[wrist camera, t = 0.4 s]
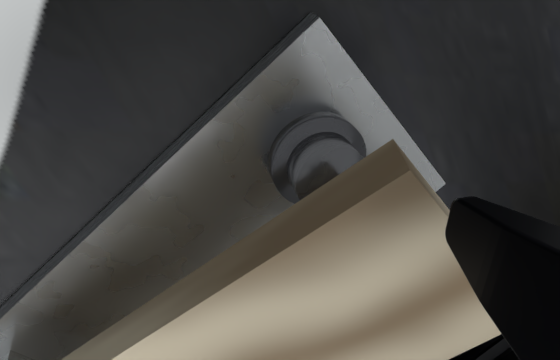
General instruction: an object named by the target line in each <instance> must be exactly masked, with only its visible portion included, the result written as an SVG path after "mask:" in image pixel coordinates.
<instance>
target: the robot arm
mask: <svg viewBox="0 0 560 360" xmlns="http://www.w3.org/2000/svg"><path fill="white" fill-rule="evenodd" d="M445 237H446V241H447V243H448V245H449V247H450V249H451V251H452V253H453V254H454V256H455V258H456V260H457V262H458V264H459V265H460V267H461V269H462V271H463V273H464V275H465V276H466V278H467V280H468V282H469V284H470V285H471V287H472V289H473V291H474V293H475V294H476V296H477V298H478V300H479V301H480V303H481V304H482V306H483V307H484V309H485V311H486V312H487V313H488V315H489V316H490V318H491V319H492V321H493V322H494V324H495V325H496V327H497V328H498V329H499V331H500V332H501V335H499V336H496V337H494V338H492V339H490V340H488V341H486V342H484V343H482V344H480V345H478V346H476V347H474V348H472V349H469V350H467V351H465V352H463V353H461V354H459V355H457V356H455V357H453V358H451V359H449V360H560V227H559V226H556V225H553V224H551V223H548V222H545V221H542V220H539V219H536V218H534V217H531V216H528V215H525V214H522V213H519V212H517V211H514V210H511V209H508V208H505V207H502V206H500V205H497V204H494V203H491V202H488V201H485V200H483V199H480V198H477V197H464V198H457V199H455V200H454V201H453V203H452V205H451V208H450V213H449V217H448V221H447V225H446V230H445Z"/></svg>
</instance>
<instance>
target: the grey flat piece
mask: <svg viewBox="0 0 560 360" xmlns="http://www.w3.org/2000/svg"><path fill="white" fill-rule="evenodd" d="M392 139H394V141H395V142H396V143H397V145H398V146H399V147H400V148H401V150H402V151H403V152H404V153H405V155H406V156H407V157H408V158H409V160H410V161H411V162H412V163H413V165H414V166H415V167H416V168H417V170H418V171H419V172H420V173H421V175H422V176H423V177H424V179H425V180H426V181H427V182H428V184H429V185H430V186H431V187H432V189H433V190H434V191H435V192H436V191H438V190H439V189H440V188H441V187H442V186H444V185H445V184H446V183H445V182H444V181H443V179H442V178H441V177H440V175H439V174H438V173H437V171H436V170H435V169H434V167H433V166H432V165H431V163H430V162H429V161H428V159H427V158H426V157H425V156H424V154H423V153H422V152H421V150H420V149H419V148H418V146H417V145H416V144H415V142H414V141H413V140H412V138H411V137H410V136H409V134H408V133H407V132H406V130H405V129H404V128H403V127H402V125H401V124H400V123H399V121H398V120H397V119H396V117H395V116H394V115H393V113H392V112H391V111H390V109H389V108H388V107H387V105H386V104H385V103H384V101H383V100H382V99H381V98H380V96H379V95H378V94H377V92H376V91H375V90H374V88H373V87H372V86H371V84H370V83H369V82H368V80H367V79H366V78H365V76H364V75H363V74H362V72H361V71H360V70H359V69H358V67H357V66H356V65H355V63H354V62H353V61H352V59H351V58H350V57H349V55H348V54H347V53H346V51H345V50H344V49H343V47H342V46H341V45H340V43H339V42H338V41H337V40H336V38H335V37H334V36H333V34H332V33H331V32H330V30H329V29H328V28H327V26H326V25H325V24H324V22H323V21H322V20H321V18H320V17H318V16H317V15H315V14H314V13H312V12H311V13H310V14H309V15H307V16H306V17H305V18H304V19H303V20H302V21H301V22H300V23H299V24H298V25H297V26H296V27H295V28H294V29H293V30H292V31H291V32H290V33H289V34H287V35H286V36H285V37H284V38H283V39H282V40H281V41H280V42H279V43H278V44H277V45H276V46H275V47H274V48H273V49H272V50H271V51H270V52H269V53H267V54H266V55H265V56H264V57H263V58H262V59H261V60H260V61H259V62H258V63H257V64H256V65H255V66H254V67H253V68H252V69H251V70H250V71H248V72H247V73H246V74H245V75H244V76H243V77H242V78H241V79H240V80H239V81H238V82H237V83H236V84H235V85H234V86H233V87H232V88H231V89H230V90H228V91H227V92H226V93H225V94H224V95H223V96H222V97H221V98H220V99H219V100H218V101H217V102H216V103H215V104H214V105H213V106H212V107H211V108H210V109H208V110H207V111H206V112H205V113H204V114H203V115H202V116H201V117H200V118H199V119H198V120H197V121H196V122H195V123H194V124H193V125H192V126H191V127H190V128H188V129H187V130H186V131H185V132H184V133H183V134H182V135H181V136H180V137H179V138H178V139H177V140H176V141H175V142H174V143H173V144H172V145H171V146H169V147H168V148H167V149H166V150H165V151H164V152H163V153H162V154H161V155H160V156H159V157H158V158H157V159H156V160H155V161H154V162H153V163H152V164H151V165H149V166H148V167H147V168H146V169H145V170H144V171H143V172H142V173H141V174H140V175H139V176H138V177H137V178H136V179H135V180H134V181H133V182H132V183H131V184H129V185H128V186H127V187H126V188H125V189H124V190H123V191H122V192H121V193H120V194H119V195H118V196H117V197H116V198H115V199H114V200H113V201H112V202H110V203H109V204H108V205H107V206H106V207H105V208H104V209H103V210H102V211H101V212H100V213H99V214H98V215H97V216H96V217H95V218H94V219H93V220H92V221H90V222H89V223H88V224H87V225H86V226H85V227H84V228H83V229H82V230H81V231H80V232H79V233H78V234H77V235H76V236H75V237H74V238H73V239H72V240H70V241H69V242H68V243H67V244H66V245H65V246H64V247H63V248H62V249H61V250H60V251H59V252H58V253H57V254H56V255H55V256H54V257H53V258H52V259H50V260H49V261H48V262H47V263H46V264H45V265H44V266H43V267H42V268H41V269H40V270H39V271H38V272H37V273H36V274H35V275H34V276H33V277H31V278H30V279H29V280H28V281H27V282H26V283H25V284H24V285H23V286H22V287H21V288H20V289H19V290H18V291H17V292H16V293H15V294H14V295H13V296H11V297H10V298H9V299H8V300H7V301H6V302H5V303H4V304H3V305H2V306H1V307H0V360H61V359H63V358H64V357H66V356H67V355H69V354H70V353H72V352H73V351H75V350H76V349H78V348H79V347H81V346H82V345H84V344H85V343H87V342H88V341H90V340H91V339H93V338H94V337H96V336H97V335H99V334H100V333H102V332H103V331H105V330H106V329H108V328H109V327H111V326H112V325H114V324H115V323H117V322H118V321H120V320H121V319H123V318H124V317H126V316H127V315H129V314H130V313H132V312H133V311H135V310H136V309H138V308H139V307H141V306H142V305H144V304H145V303H147V302H148V301H150V300H151V299H153V298H154V297H156V296H157V295H159V294H160V293H162V292H163V291H165V290H166V289H168V288H169V287H171V286H172V285H174V284H175V283H177V282H178V281H180V280H181V279H183V278H184V277H186V276H187V275H189V274H190V273H192V272H193V271H195V270H196V269H198V268H199V267H201V266H202V265H204V264H205V263H207V262H208V261H210V260H211V259H213V258H214V257H216V256H217V255H219V254H220V253H222V252H223V251H225V250H226V249H228V248H229V247H231V246H232V245H234V244H235V243H237V242H238V241H240V240H241V239H243V238H244V237H246V236H247V235H249V234H250V233H252V232H253V231H255V230H256V229H258V228H260V227H261V226H263V225H264V224H266V223H267V222H269V221H270V220H272V219H273V218H275V217H276V216H278V215H279V214H281V213H282V212H284V211H285V210H287V209H288V208H290V207H291V206H293V205H294V204H296V203H297V202H299V201H300V200H302V199H303V198H305V197H306V196H308V195H309V194H311V193H312V192H314V191H315V190H317V189H318V188H320V187H321V186H323V185H324V184H326V183H327V182H329V181H330V180H332V179H333V178H335V177H336V176H338V175H339V174H341V173H342V172H344V171H345V170H347V169H348V168H350V167H351V166H353V165H354V164H356V163H357V162H359V161H360V160H362V159H363V158H365V157H366V156H368V155H369V154H371V153H372V152H374V151H375V150H377V149H378V148H380V147H381V146H383V145H384V144H386V143H387V142H389V141H390V140H392Z"/></svg>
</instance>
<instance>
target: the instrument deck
mask: <svg viewBox="0 0 560 360" xmlns="http://www.w3.org/2000/svg"><path fill="white" fill-rule="evenodd" d="M449 213H450V210H449V209H448V207H447V206H446V205H445V204H444V202H443V201H442V200H441V199H440V197H439V196H438V195H437V194H436V192H435V191H434V190H433V189H432V187H431V186H430V185H429V184H428V182H427V181H426V180H425V179H424V177H423V176H422V175H421V173H420V172H419V171H418V170H417V168H416V167H415V166H414V165H413V163H412V162H411V161H410V160H409V158H408V157H407V156H406V155H405V153H404V152H403V151H402V150H401V148H400V147H399V146H398V145H397V143H396V142H395V141H394V139H392V140H390V141H389V142H387V143H386V144H384V145H383V146H381V147H380V148H378V149H377V150H375V151H374V152H372V153H371V154H369V155H368V156H366V157H365V158H363V159H362V160H360V161H359V162H357V163H356V164H354V165H353V166H351V167H350V168H348V169H347V170H345V171H344V172H342V173H341V174H339V175H338V176H336V177H335V178H333V179H332V180H330V181H329V182H327V183H326V184H324V185H323V186H321V187H320V188H318V189H317V190H315V191H314V192H312V193H311V194H309V195H308V196H306V197H305V198H303V199H302V200H300V201H299V202H297V203H296V204H294V205H293V206H291V207H290V208H288V209H287V210H285V211H284V212H282V213H281V214H279V215H278V216H276V217H275V218H273V219H272V220H270V221H269V222H267V223H266V224H264V225H263V226H261V227H260V228H258V229H256V230H255V231H253V232H252V233H250V234H249V235H247V236H246V237H244V238H243V239H241V240H240V241H238V242H237V243H235V244H234V245H232V246H231V247H229V248H228V249H226V250H225V251H223V252H222V253H220V254H219V255H217V256H216V257H214V258H213V259H211V260H210V261H208V262H207V263H205V264H204V265H202V266H201V267H199V268H198V269H196V270H195V271H193V272H192V273H190V274H189V275H187V276H186V277H184V278H183V279H181V280H180V281H178V282H177V283H175V284H174V285H172V286H171V287H169V288H168V289H166V290H165V291H163V292H162V293H160V294H159V295H157V296H156V297H154V298H153V299H151V300H150V301H148V302H147V303H145V304H144V305H142V306H141V307H139V308H138V309H136V310H135V311H133V312H132V313H130V314H129V315H127V316H126V317H124V318H123V319H121V320H120V321H118V322H117V323H115V324H114V325H112V326H111V327H109V328H108V329H106V330H105V331H103V332H102V333H100V334H99V335H97V336H96V337H94V338H93V339H91V340H90V341H88V342H87V343H85V344H84V345H82V346H81V347H79V348H78V349H76V350H75V351H73V352H72V353H70V354H69V355H67V356H66V357H64V358H63V359H61V360H449V359H451V358H453V357H455V356H457V355H459V354H461V353H463V352H465V351H467V350H469V349H472V348H474V347H476V346H478V345H480V344H482V343H484V342H486V341H488V340H490V339H492V338H494V337H496V336H499V335H501V332H500V331H499V329H498V328H497V327H496V325H495V324H494V322H493V321H492V319H491V318H490V316H489V315H488V313H487V312H486V311H485V309H484V307H483V306H482V304H481V303H480V301H479V300H478V298H477V296H476V294H475V293H474V291H473V289H472V287H471V285H470V284H469V282H468V280H467V278H466V276H465V275H464V273H463V271H462V269H461V267H460V265H459V264H458V262H457V260H456V258H455V256H454V254H453V253H452V251H451V249H450V247H449V245H448V243H447V241H446V237H445V230H446V225H447V221H448V217H449Z"/></svg>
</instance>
